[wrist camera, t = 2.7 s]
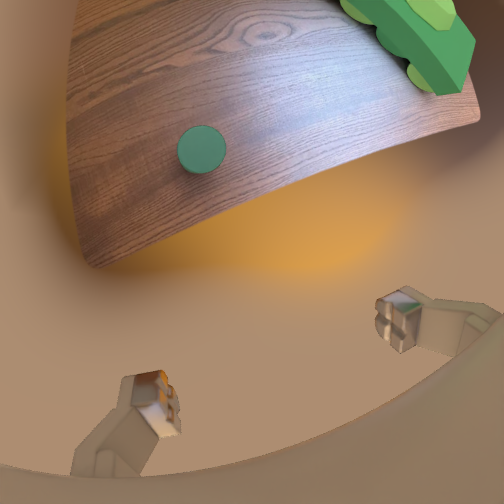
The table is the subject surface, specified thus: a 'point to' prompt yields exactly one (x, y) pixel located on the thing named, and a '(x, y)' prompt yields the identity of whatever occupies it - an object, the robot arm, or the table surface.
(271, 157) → the table surface
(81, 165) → the table surface
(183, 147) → the dot marker
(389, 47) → the toy tank
